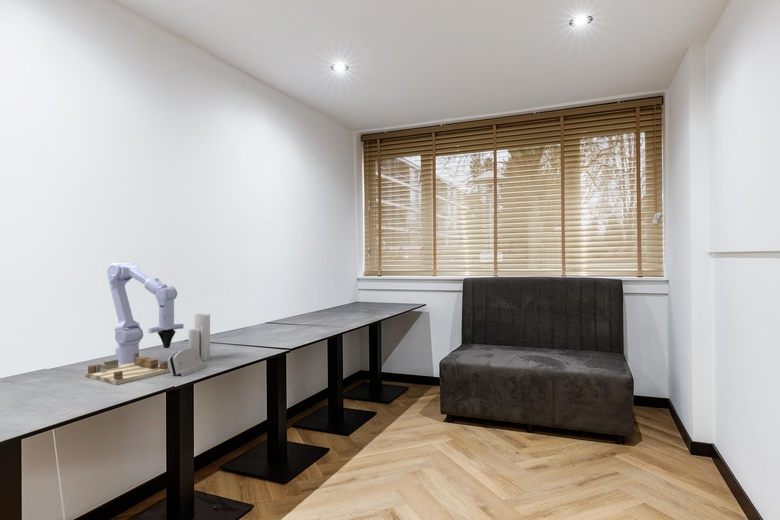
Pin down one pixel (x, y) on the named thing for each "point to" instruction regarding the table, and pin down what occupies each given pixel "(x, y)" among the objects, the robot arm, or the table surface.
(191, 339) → the vase
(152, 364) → the folding leg
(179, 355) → the grey rounded block
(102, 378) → the board
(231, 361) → the table surface
